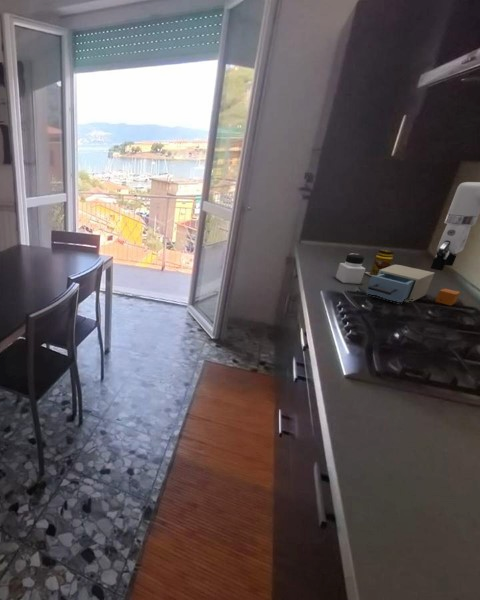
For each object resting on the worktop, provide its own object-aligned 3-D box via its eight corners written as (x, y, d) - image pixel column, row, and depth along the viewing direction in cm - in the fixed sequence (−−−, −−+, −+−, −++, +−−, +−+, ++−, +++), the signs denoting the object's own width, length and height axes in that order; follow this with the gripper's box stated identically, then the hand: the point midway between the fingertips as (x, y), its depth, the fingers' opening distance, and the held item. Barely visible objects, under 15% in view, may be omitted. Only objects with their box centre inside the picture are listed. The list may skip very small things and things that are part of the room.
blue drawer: (392, 307, 129) (400, 287, 126) (357, 297, 138) (363, 278, 135) (415, 296, 138) (423, 278, 135) (381, 287, 147) (387, 269, 144)
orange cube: (455, 303, 135) (460, 292, 133) (451, 305, 133) (456, 294, 131) (439, 299, 139) (444, 288, 137) (435, 301, 136) (439, 290, 135)
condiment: (375, 278, 160) (384, 252, 156) (362, 272, 168) (370, 247, 163) (391, 278, 160) (401, 252, 156) (377, 272, 168) (386, 247, 163)
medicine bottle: (361, 284, 154) (370, 257, 149) (342, 283, 155) (351, 256, 150) (352, 278, 160) (360, 252, 155) (335, 277, 161) (342, 252, 156)
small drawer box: (409, 302, 135) (419, 279, 131) (371, 292, 145) (379, 269, 141) (425, 295, 142) (434, 272, 138) (387, 285, 152) (395, 264, 148)
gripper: (467, 224, 115) (446, 274, 122) (483, 218, 124) (463, 265, 130) (437, 220, 121) (418, 268, 128) (454, 215, 130) (436, 260, 136)
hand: (441, 267), depth 129 cm, fingers open, 9 cm apart
